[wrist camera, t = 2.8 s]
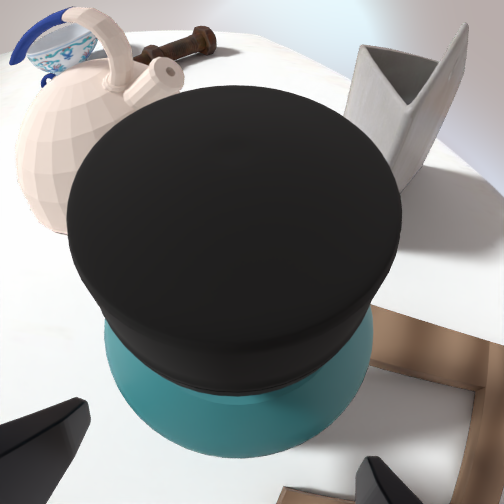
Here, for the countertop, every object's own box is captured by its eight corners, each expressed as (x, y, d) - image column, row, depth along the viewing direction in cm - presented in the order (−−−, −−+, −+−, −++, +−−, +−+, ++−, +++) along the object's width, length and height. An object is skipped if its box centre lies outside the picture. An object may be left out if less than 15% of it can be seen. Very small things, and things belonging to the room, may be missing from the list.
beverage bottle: (308, 411, 20) (570, 243, 3) (222, 461, 18) (88, 621, 1) (256, 335, 23) (299, 25, 6) (173, 380, 21) (-24, 132, 4)
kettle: (143, 266, 25) (62, 53, 10) (0, 211, 28) (-74, 85, 13) (230, 122, 36) (230, -27, 21) (94, 105, 39) (67, -7, 24)
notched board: (511, 356, 21) (522, 351, 20) (471, 547, 12) (481, 550, 11) (341, 305, 24) (347, 296, 23) (262, 535, 15) (263, 541, 13)
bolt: (130, 88, 44) (206, 56, 50) (139, 83, 40) (221, 50, 46) (117, 58, 41) (195, 29, 46) (124, 50, 37) (209, 21, 43)
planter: (367, 131, 36) (407, -13, 20) (421, 167, 33) (483, 22, 17) (282, 197, 30) (313, -19, 13) (353, 249, 27) (445, 29, 10)
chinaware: (78, 50, 53) (71, 21, 46) (121, 53, 49) (116, 18, 43) (24, 85, 45) (13, 54, 39) (60, 91, 42) (49, 53, 35)
